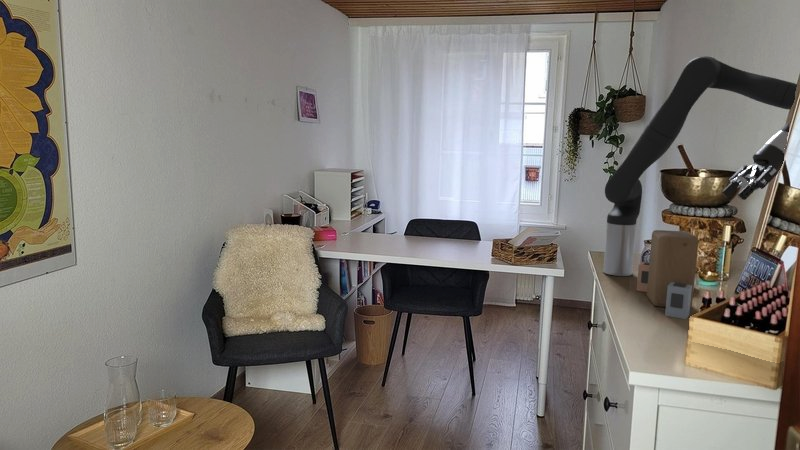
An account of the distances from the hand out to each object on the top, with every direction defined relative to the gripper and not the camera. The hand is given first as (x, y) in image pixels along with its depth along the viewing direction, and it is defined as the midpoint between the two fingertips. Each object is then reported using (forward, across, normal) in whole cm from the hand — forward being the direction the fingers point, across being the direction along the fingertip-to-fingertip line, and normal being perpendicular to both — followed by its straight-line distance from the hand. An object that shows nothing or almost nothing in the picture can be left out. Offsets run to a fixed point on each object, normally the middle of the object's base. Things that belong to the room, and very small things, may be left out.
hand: (732, 196), depth 156 cm
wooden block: (+33, 0, +9) cm, 34 cm away
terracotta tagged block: (+33, -14, +8) cm, 37 cm away
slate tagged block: (+34, +10, +8) cm, 36 cm away
